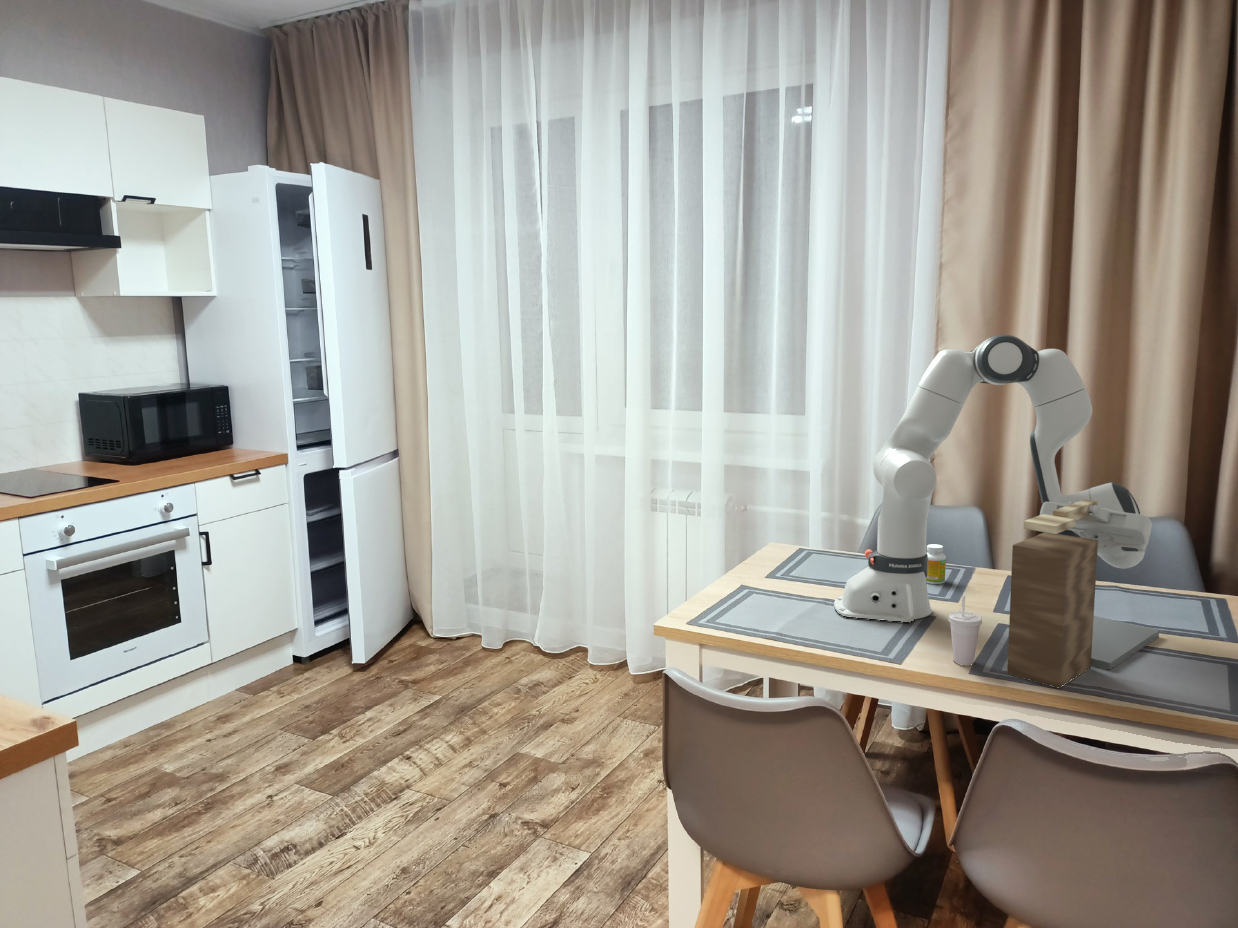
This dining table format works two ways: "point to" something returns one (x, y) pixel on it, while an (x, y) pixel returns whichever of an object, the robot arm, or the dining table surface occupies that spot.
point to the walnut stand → (1052, 608)
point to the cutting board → (1117, 641)
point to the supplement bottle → (936, 564)
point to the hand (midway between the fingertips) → (1081, 507)
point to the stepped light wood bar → (1060, 518)
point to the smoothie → (964, 635)
